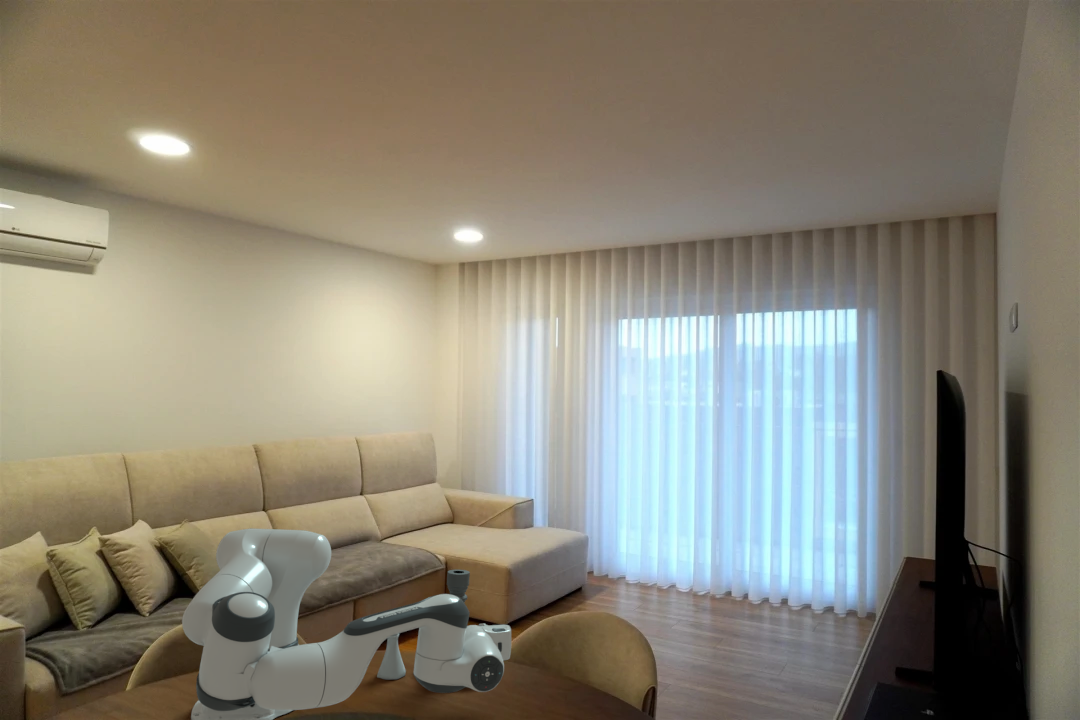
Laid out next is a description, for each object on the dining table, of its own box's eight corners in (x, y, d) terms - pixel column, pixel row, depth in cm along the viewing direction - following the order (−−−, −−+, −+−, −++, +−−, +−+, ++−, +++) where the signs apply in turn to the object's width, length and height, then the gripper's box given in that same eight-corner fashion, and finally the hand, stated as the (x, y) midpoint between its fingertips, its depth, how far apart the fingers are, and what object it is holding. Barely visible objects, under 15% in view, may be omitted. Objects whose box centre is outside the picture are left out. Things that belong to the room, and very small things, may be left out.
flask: (399, 682, 172) (400, 640, 172) (371, 679, 173) (373, 637, 174) (410, 671, 179) (411, 631, 179) (384, 668, 180) (385, 628, 181)
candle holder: (437, 669, 178) (443, 569, 180) (461, 667, 180) (467, 568, 182) (443, 678, 172) (449, 575, 174) (467, 676, 174) (473, 574, 176)
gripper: (425, 665, 151) (418, 644, 164) (516, 658, 157) (503, 638, 170) (426, 636, 152) (419, 617, 165) (517, 629, 157) (503, 612, 170)
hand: (462, 628), depth 168 cm, fingers open, 8 cm apart
